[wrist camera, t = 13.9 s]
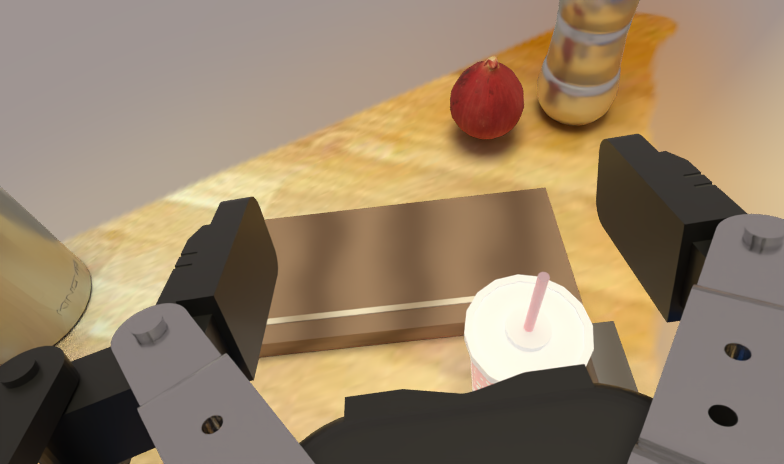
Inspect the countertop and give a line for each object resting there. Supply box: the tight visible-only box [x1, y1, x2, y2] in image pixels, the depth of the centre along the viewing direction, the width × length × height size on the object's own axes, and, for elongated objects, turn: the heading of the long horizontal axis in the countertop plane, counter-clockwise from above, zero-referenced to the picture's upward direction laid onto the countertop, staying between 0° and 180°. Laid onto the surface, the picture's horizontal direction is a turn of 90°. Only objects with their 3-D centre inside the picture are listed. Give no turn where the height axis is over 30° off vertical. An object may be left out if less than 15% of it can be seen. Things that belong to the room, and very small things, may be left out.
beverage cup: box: [464, 272, 594, 391], centre depth 27 cm, size 6×6×14 cm
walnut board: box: [259, 188, 638, 392], centre depth 35 cm, size 24×17×2 cm
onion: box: [450, 56, 524, 139], centre depth 42 cm, size 6×6×8 cm
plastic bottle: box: [537, 0, 640, 126], centre depth 38 cm, size 6×7×20 cm
